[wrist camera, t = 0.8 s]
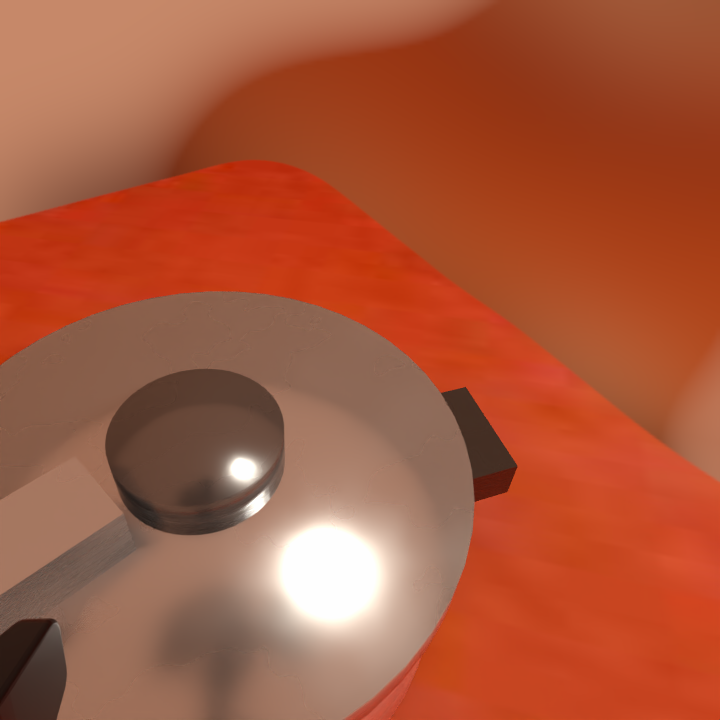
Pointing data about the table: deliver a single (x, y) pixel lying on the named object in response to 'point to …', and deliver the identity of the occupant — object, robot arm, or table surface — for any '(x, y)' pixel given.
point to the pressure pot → (489, 480)
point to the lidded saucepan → (229, 509)
